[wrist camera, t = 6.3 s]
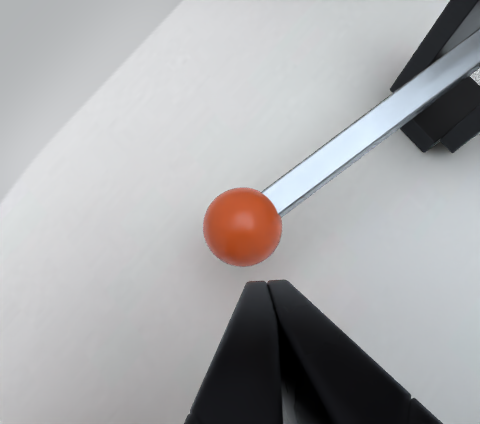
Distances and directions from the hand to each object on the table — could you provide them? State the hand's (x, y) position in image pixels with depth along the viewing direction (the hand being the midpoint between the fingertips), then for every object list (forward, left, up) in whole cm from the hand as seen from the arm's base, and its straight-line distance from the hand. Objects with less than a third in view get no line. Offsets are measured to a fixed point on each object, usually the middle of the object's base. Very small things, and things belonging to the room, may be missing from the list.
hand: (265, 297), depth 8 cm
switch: (+9, +3, -6) cm, 11 cm away
